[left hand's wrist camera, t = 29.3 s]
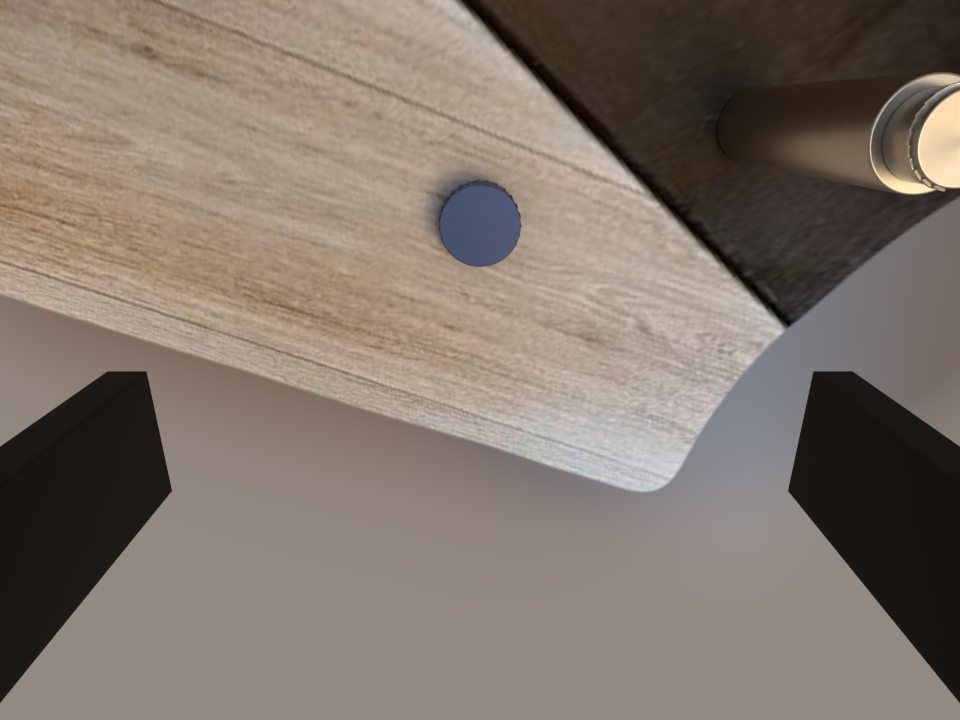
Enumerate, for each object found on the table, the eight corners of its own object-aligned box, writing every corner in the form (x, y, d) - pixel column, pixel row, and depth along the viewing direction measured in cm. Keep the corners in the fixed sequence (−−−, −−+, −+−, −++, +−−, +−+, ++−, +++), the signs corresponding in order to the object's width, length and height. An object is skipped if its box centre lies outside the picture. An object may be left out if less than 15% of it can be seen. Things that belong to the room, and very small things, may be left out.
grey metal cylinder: (733, 78, 36) (943, 51, 20) (800, 98, 36) (1061, 88, 20) (706, 152, 38) (879, 185, 21) (770, 170, 38) (990, 216, 22)
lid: (531, 242, 40) (533, 249, 37) (459, 271, 40) (457, 280, 38) (502, 167, 38) (503, 170, 36) (427, 198, 39) (424, 203, 36)
